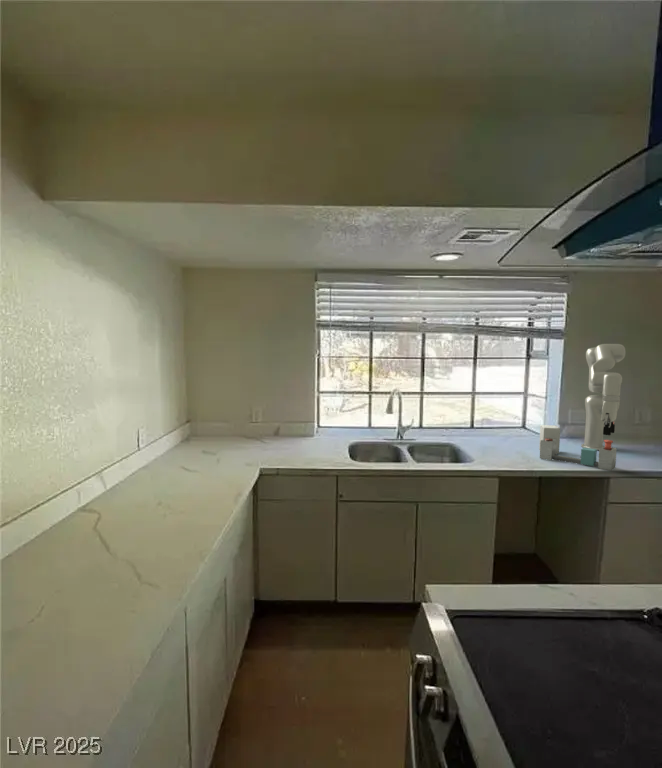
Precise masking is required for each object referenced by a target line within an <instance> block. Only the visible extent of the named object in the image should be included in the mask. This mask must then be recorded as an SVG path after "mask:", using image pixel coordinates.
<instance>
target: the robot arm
mask: <svg viewBox="0 0 662 768" xmlns="http://www.w3.org/2000/svg"><path fill="white" fill-rule="evenodd" d="M626 354H627V353H626V347H625V346H624V345H623V344H620V343H601V344H598V345H597V346H594V347H590V348H587V350H586V351H585V360H586V363H587V365H588V369H589V370H588V371H589V372H588V391H589V392H591V393H595V394H591V395H588V396H586V397H585V398H584V406H585V425H584V442H583V443H581V445H580V447H581V448H582V449H583V448H591V449H597V451H599V449H600V448H601V447H603V446H604V445H603V444H604V435H605V436H611V434H614V433H615V427H616V423H615V422H616V420H617V417H618V416H617V415H618V410H619V409H620V401H621V385H622V384H623V376H622V374H620V373H619V372H612V371H611V372H610V371H609V370H611V369H613V368H614V367H615V364H616V363H620V362H621V361H623V360H624V359H625V357H626ZM607 371H609V372H607ZM596 393H597V394H596ZM600 412H601V413H600Z"/></svg>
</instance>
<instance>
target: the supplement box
mask: <svg viewBox="0 0 662 768" xmlns="http://www.w3.org/2000/svg"><path fill="white" fill-rule="evenodd" d="M545 438H551V439H556V440H557V450H556V455H559V454H560V443H561V441H560V440H561V427H560V426H559V427H558V426H557V425H555V424H553V425H551V424H549V425H548V424H547V425H546V424H540V425H539V441H540V440H542V439H545ZM538 447H539V448H538V449H539V451H540V442H539V446H538Z"/></svg>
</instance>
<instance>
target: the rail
mask: <svg viewBox="0 0 662 768" xmlns="http://www.w3.org/2000/svg"><path fill="white" fill-rule="evenodd" d="M553 459H554V460H555V461H559V460H560V462H565V461H566V463H571V464H572V463H573V464H576V463H577V465H582V464H581V458H577V457H570V456H564V455H559V454H556V455H554V456H553ZM554 460H553V461H554ZM583 466H585V465H584V464H583ZM587 466H589V467H591V466H590V465H587ZM593 467H594V468H598V461H597V460H596V461H595V462H594V466H593Z"/></svg>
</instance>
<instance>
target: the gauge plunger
mask: <svg viewBox="0 0 662 768" xmlns="http://www.w3.org/2000/svg"><path fill="white" fill-rule="evenodd" d="M603 443H604V446H605V449H609V450H611V447H612V443H614V440H610V439H603Z"/></svg>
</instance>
